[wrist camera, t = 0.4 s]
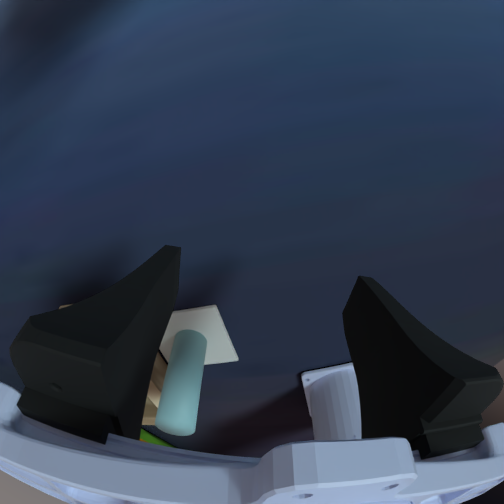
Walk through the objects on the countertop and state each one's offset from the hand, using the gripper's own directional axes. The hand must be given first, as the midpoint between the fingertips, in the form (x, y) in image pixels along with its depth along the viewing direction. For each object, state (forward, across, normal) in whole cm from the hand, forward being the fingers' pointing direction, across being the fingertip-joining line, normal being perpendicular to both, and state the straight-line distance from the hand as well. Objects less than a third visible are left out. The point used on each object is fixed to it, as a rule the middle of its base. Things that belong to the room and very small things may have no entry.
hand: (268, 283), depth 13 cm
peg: (+10, +4, +15) cm, 18 cm away
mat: (+10, +4, +15) cm, 18 cm away
